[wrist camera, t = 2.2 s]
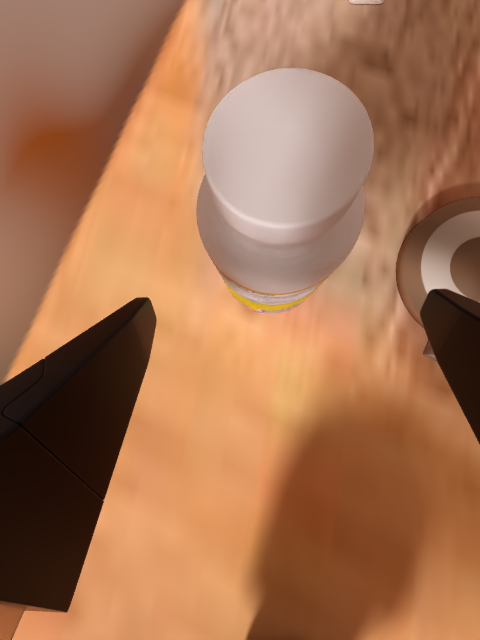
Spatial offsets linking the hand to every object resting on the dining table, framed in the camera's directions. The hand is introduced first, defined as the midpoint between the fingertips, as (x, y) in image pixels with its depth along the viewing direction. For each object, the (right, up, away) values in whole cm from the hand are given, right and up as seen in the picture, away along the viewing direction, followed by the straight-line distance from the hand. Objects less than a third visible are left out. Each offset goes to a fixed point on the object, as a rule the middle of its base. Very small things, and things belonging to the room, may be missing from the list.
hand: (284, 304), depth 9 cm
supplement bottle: (+1, +3, +11) cm, 12 cm away
